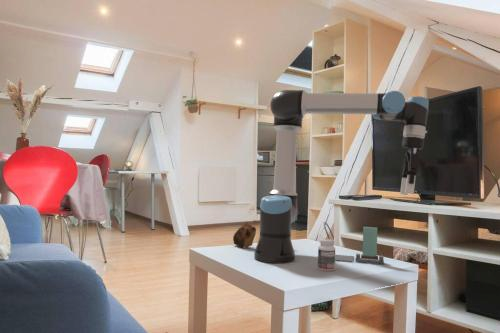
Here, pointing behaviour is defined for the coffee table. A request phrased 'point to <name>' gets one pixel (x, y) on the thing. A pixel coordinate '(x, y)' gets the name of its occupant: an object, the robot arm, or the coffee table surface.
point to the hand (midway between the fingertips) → (406, 194)
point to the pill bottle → (326, 255)
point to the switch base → (369, 260)
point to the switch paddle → (369, 243)
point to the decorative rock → (244, 235)
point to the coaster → (344, 258)
